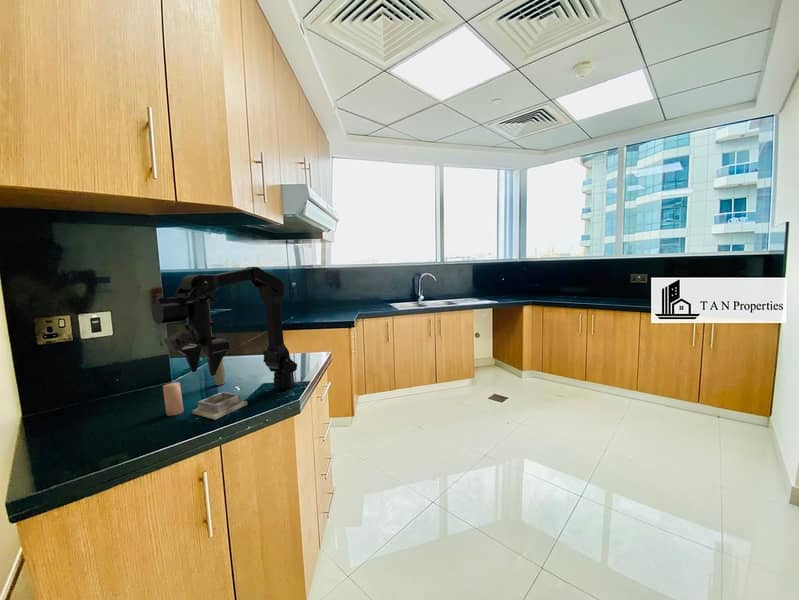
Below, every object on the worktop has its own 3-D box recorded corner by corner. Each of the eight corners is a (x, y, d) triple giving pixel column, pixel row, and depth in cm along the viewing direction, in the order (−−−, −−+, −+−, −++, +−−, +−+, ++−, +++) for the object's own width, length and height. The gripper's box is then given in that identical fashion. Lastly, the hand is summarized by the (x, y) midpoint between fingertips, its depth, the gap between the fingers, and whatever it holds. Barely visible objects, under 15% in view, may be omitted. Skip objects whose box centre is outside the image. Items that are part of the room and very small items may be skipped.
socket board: (225, 399, 110) (224, 389, 110) (247, 404, 105) (246, 394, 105) (192, 413, 101) (191, 402, 100) (215, 419, 96) (213, 408, 95)
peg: (178, 408, 105) (174, 381, 104) (186, 410, 103) (183, 383, 102) (163, 414, 101) (159, 386, 100) (171, 416, 99) (167, 388, 98)
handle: (231, 382, 127) (227, 345, 126) (214, 388, 122) (209, 349, 121) (225, 380, 130) (221, 343, 129) (208, 385, 125) (204, 347, 124)
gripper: (149, 322, 90) (154, 377, 91) (187, 324, 80) (192, 386, 81) (191, 317, 99) (195, 367, 100) (229, 319, 90) (233, 374, 91)
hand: (203, 373), depth 93 cm, fingers open, 9 cm apart
